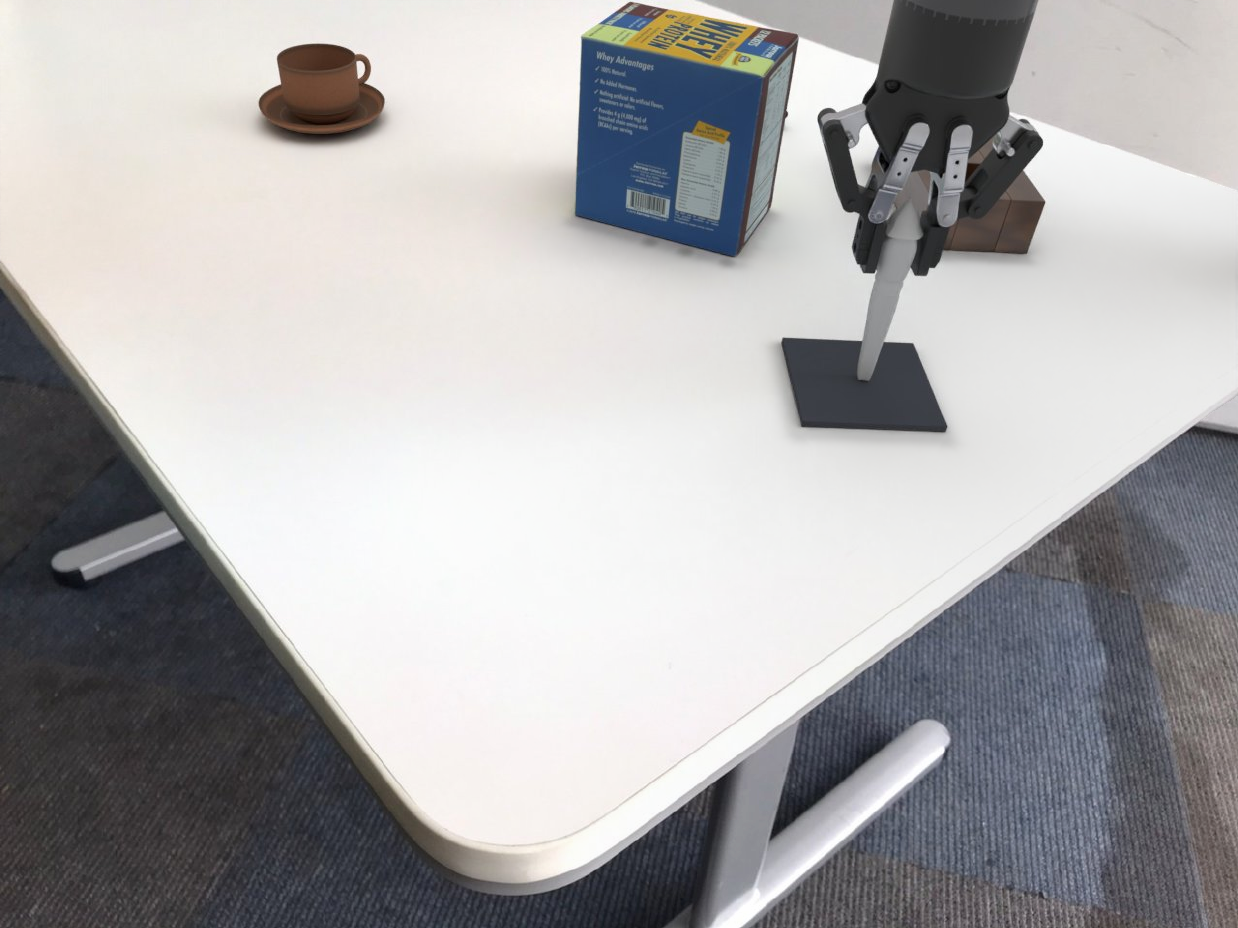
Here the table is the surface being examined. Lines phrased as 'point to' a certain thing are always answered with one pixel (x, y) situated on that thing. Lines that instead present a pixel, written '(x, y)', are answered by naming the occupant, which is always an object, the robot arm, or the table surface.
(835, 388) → the mat
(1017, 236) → the pen stand
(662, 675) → the table surface
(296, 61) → the cup and saucer
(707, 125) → the protein box
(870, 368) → the pen
